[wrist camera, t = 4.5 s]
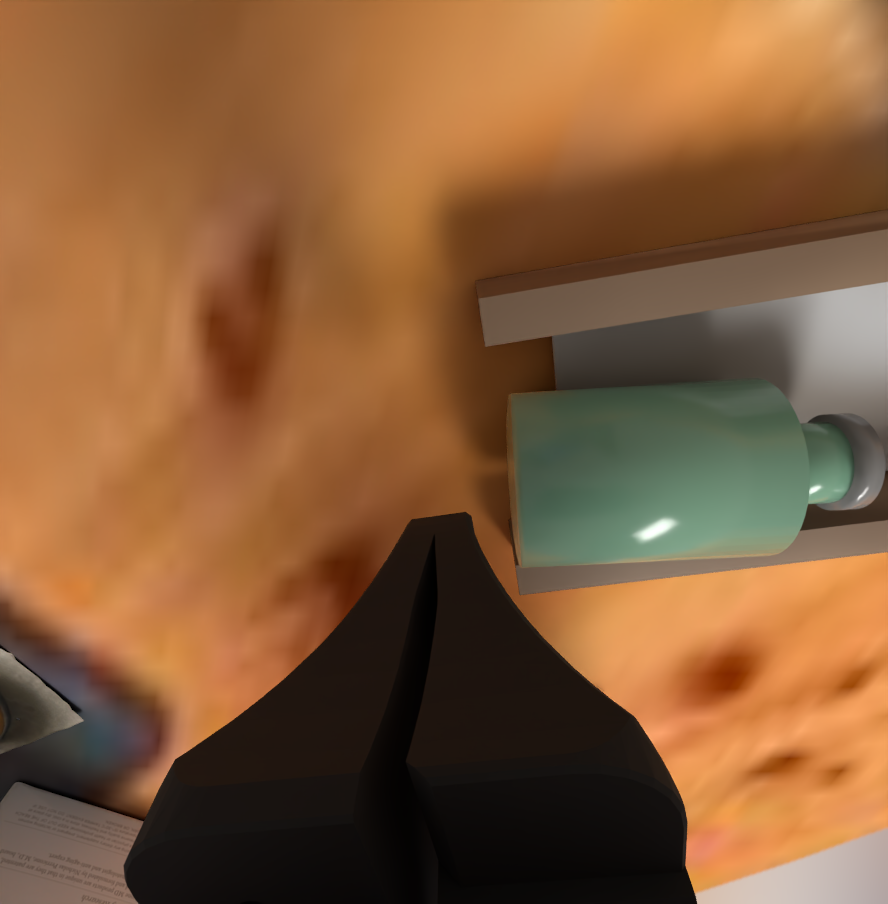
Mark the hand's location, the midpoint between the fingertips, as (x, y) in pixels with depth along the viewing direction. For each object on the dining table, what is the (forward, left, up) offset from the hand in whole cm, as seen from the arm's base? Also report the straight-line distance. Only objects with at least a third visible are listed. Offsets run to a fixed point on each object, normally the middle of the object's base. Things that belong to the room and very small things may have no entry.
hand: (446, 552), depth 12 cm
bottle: (0, -2, -3) cm, 4 cm away
